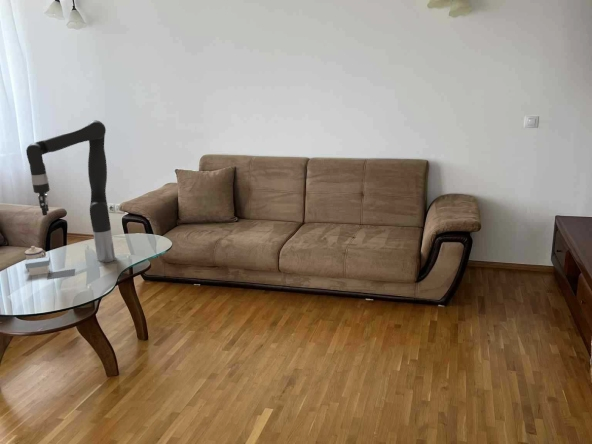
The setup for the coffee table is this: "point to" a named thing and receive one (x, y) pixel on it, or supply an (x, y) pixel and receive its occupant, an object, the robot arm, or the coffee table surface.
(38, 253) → the teacup with lid
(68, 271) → the mat
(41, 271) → the white open cubby box
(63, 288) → the coffee table surface
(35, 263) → the lid
